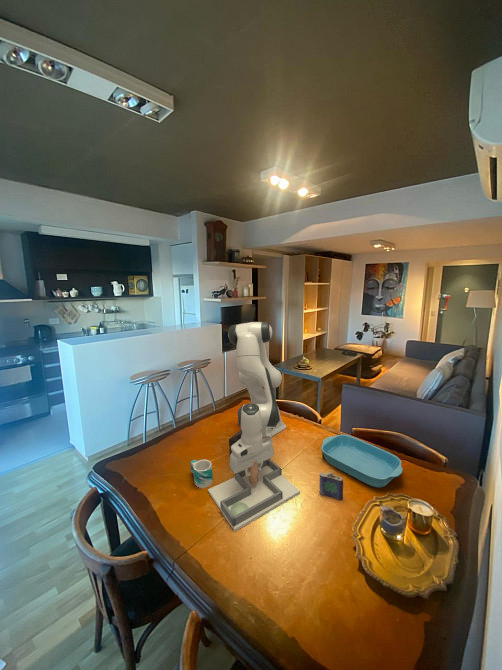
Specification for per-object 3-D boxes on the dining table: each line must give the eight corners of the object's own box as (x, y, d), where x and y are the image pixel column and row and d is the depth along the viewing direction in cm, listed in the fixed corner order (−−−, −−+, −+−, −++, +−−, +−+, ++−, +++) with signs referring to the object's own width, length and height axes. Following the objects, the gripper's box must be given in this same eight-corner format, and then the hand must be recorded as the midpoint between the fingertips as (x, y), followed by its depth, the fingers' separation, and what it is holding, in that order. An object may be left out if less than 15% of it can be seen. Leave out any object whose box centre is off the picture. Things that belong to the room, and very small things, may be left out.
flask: (318, 494, 111) (319, 471, 109) (320, 489, 114) (320, 467, 112) (342, 501, 107) (343, 477, 106) (343, 496, 110) (344, 472, 108)
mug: (201, 491, 116) (199, 473, 114) (186, 477, 124) (184, 461, 123) (216, 481, 121) (215, 464, 120) (201, 469, 130) (199, 453, 128)
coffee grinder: (247, 462, 133) (245, 429, 130) (229, 455, 139) (227, 423, 136) (263, 446, 146) (262, 415, 143) (246, 440, 152) (244, 410, 149)
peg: (254, 476, 119) (254, 455, 117) (260, 481, 115) (259, 460, 114) (247, 479, 117) (246, 458, 115) (252, 485, 113) (251, 463, 112)
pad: (242, 500, 108) (242, 499, 108) (252, 512, 103) (252, 511, 102) (227, 508, 105) (227, 507, 105) (236, 521, 99) (236, 520, 99)
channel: (267, 464, 131) (267, 456, 131) (300, 493, 112) (300, 484, 112) (208, 492, 115) (207, 483, 114) (234, 531, 96) (234, 521, 95)
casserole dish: (312, 458, 135) (312, 445, 134) (337, 441, 149) (338, 429, 147) (387, 502, 107) (388, 486, 105) (410, 475, 121) (411, 461, 119)
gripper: (267, 432, 121) (268, 460, 123) (227, 447, 110) (228, 478, 113) (276, 438, 116) (277, 467, 118) (234, 455, 105) (236, 487, 107)
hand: (253, 472), depth 115 cm, fingers closed on peg, 4 cm apart
